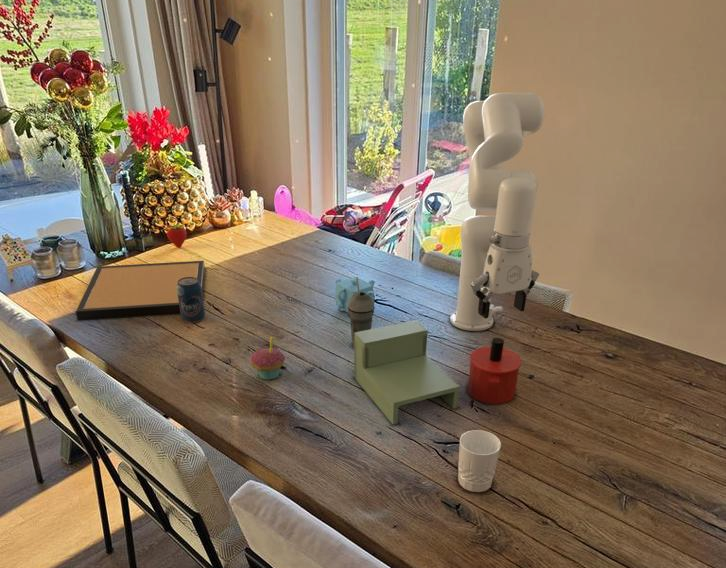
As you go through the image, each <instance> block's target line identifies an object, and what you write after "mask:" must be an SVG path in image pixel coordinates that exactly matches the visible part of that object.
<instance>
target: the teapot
mask: <svg viewBox="0 0 726 568" xmlns="http://www.w3.org/2000/svg"><path fill="white" fill-rule="evenodd" d="M356 277H357V276H354V277H353V276H352V277H349V278H347V279H343V280H342V279H341V278H339V279H337V280H335V292H334V302H335V306H336V307H337V308H338V309H339V311H341V312H346V313H348V314H349V312H348V304H349V300H350V298H351V297H352V296H353V295H354V294H356V293H358V290H357V282H356ZM358 283H359V291H360V292H364V293H367V294H368V295H370V297H371V298H372V299H373V302H374V303H375V291H374V286H375V284H376V281H375V280H369V281H368V282H367V281H366V280H364V279H362V278H359V277H358Z"/></svg>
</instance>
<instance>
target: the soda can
mask: <svg viewBox="0 0 726 568" xmlns="http://www.w3.org/2000/svg"><path fill="white" fill-rule="evenodd" d="M176 288H177V294H178V300H179V306H180V312H181V313H180V317H181V318H182V319H183V321H184V322H186V323H189V324H190V323H193V324H194V323H198V322H200V321H202V320H204V318H205V315H206V311H205V303H204V297H203V293H202V289H201V284H200V283H199V282H198V279H197V278H194V277H185V278H181V279H179V280H178V284H177V287H176Z"/></svg>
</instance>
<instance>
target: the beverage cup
mask: <svg viewBox="0 0 726 568" xmlns="http://www.w3.org/2000/svg"><path fill="white" fill-rule="evenodd" d="M355 277H356V282H357V290H358V293H356V294H354V295H353V296H352V297H351V298H350V300H349V304H348V312H349V313H348V312H347V313H348V315H349V322H350V324H349V325H350V333H351V342H352V347H353V348H354V333H355V332H360V331H365V330H370V329H372V323H373V316H374V312H375V301H374V302H373V299H372V298H371V297H370V295H368V294H367V293H364V292H360V291H359V283H358V278H359V277H358V276H355Z"/></svg>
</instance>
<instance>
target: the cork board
mask: <svg viewBox="0 0 726 568" xmlns="http://www.w3.org/2000/svg"><path fill="white" fill-rule="evenodd" d="M205 272H206V265H205V260H191V261H175V262H173V261H172V262H153V263H138V264H119V265H101V266H96V268H95V270H94V272H93V275H92V277H91V279H90V281H89V283H88V285H87V287H86V289H85V291H84V293H83V296H82V298H81V300H80V301H79V304H78V306H77V307H76V310H75V314H76V315H75V316H76V319H77V321H85V320H100V319H101V320H102V319H116V318H117V319H118V318H130V317H131V318H133V317H144V316H145V317H147V316H160V315H161V316H163V315H177V314H181V312H180V306H179V300H178V294H177V288H176V287H177V284H178V280H179V279H181V278H185V277H194V278H197V279H198V282H199V283H200V284H201V289H202V294H203V292H204V283H205V282H204V281H205Z"/></svg>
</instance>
